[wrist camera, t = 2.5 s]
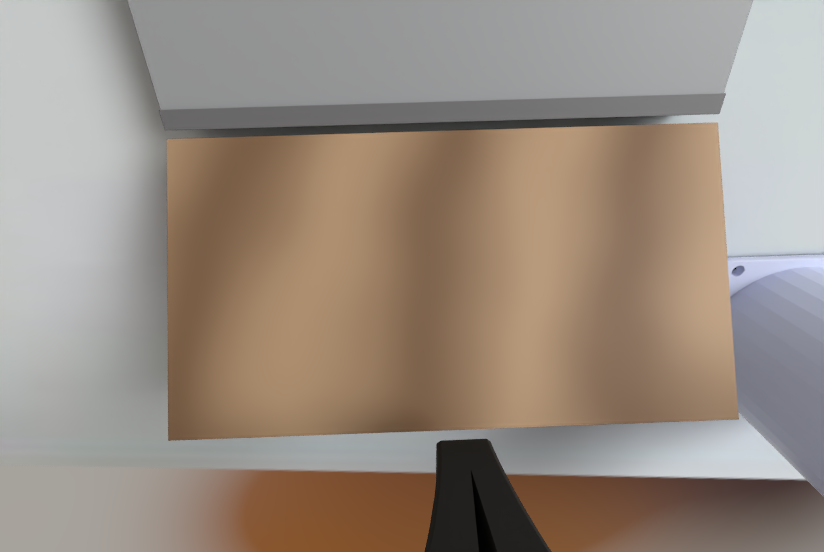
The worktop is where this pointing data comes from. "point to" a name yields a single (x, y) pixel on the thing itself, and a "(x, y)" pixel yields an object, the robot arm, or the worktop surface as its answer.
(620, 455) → the worktop surface
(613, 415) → the tan flat block
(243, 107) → the floor board
